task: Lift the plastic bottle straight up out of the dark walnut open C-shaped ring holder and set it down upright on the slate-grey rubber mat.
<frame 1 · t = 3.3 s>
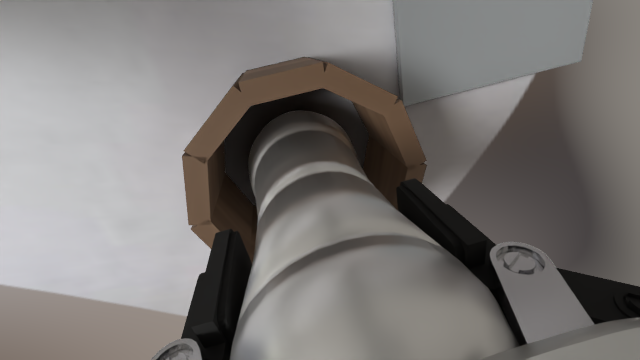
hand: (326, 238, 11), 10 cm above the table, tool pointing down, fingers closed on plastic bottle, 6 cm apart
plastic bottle: (298, 152, 20), resting in ring holder, touching gripper
ring holder: (298, 153, 19), on the table
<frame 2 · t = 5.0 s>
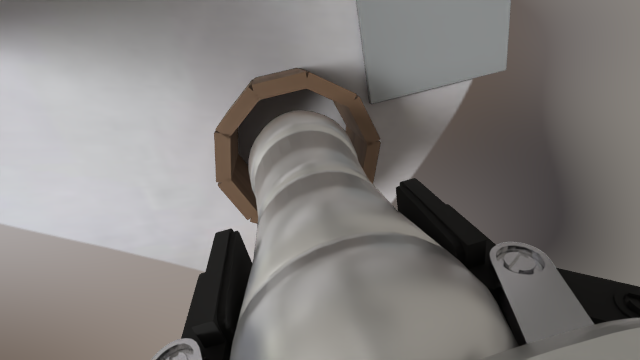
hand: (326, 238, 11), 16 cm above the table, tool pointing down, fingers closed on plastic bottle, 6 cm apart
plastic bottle: (298, 152, 20), point 6 cm above the table, touching gripper
ring holder: (293, 139, 26), on the table
rubber mat: (434, 5, 23), on the table
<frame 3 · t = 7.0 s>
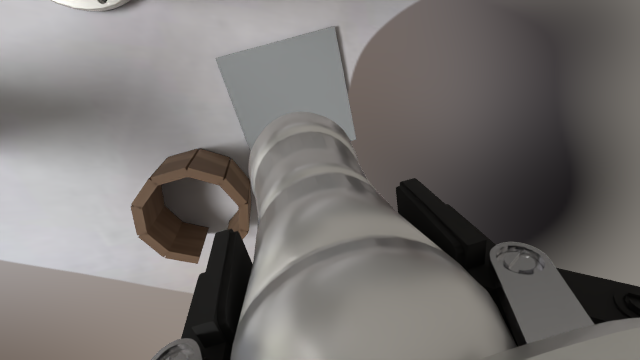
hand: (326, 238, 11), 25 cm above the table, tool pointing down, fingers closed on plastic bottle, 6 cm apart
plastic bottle: (298, 153, 20), point 16 cm above the table, touching gripper
ring holder: (203, 194, 36), on the table
rubber mat: (292, 102, 33), on the table
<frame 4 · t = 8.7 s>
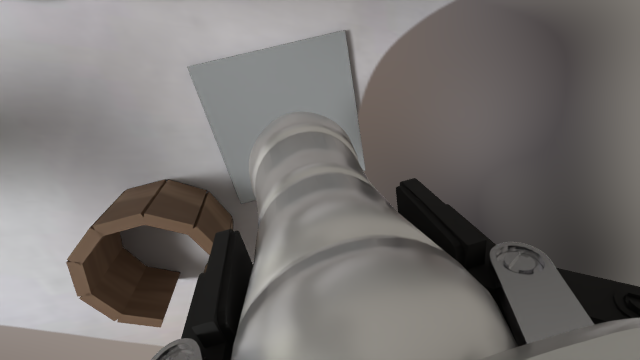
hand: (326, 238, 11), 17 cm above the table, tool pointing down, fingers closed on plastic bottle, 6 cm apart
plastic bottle: (298, 153, 20), point 8 cm above the table, touching gripper
ring holder: (173, 233, 29), on the table
rubber mat: (287, 124, 26), on the table
when the fingers open (11 cm above the table, at t = 10.3 s): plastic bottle drops 1 cm, resting on rubber mat.
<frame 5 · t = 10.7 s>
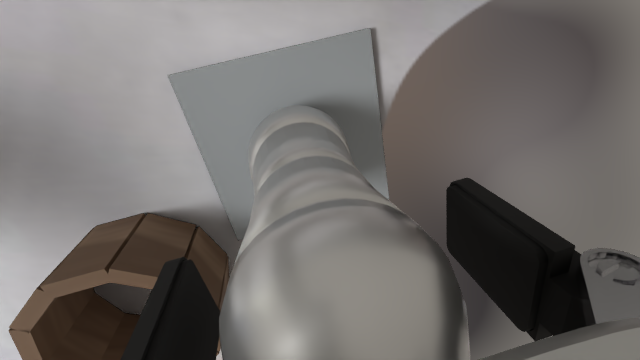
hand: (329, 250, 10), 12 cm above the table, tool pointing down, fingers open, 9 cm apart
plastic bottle: (295, 145, 21), resting on rubber mat
ring holder: (156, 275, 24), on the table
rubber mat: (295, 144, 21), on the table
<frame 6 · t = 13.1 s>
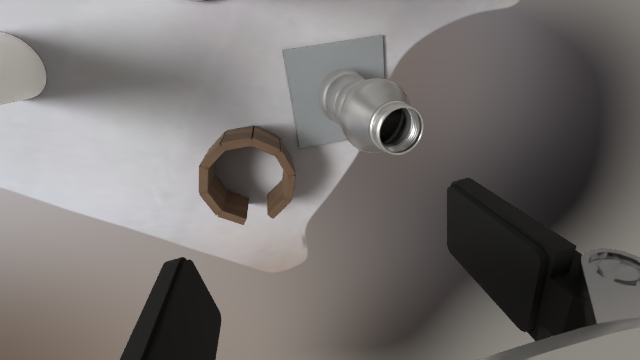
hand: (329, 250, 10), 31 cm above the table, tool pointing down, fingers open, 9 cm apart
cylindrical container: (9, 67, 32), on the table
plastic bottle: (338, 94, 39), resting on rubber mat
ring holder: (250, 166, 41), on the table
rubber mat: (338, 94, 39), on the table
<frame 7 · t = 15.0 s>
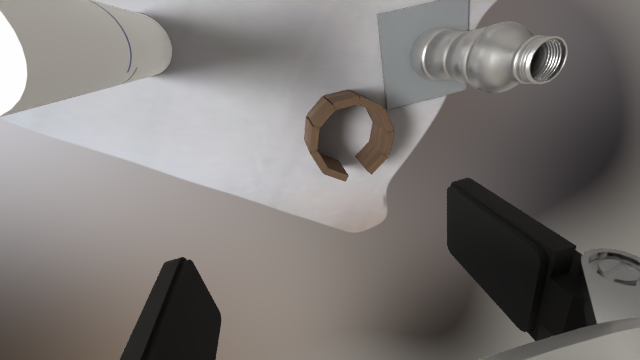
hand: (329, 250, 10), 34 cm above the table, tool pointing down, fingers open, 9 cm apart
cylindrical container: (141, 45, 35), on the table
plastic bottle: (425, 54, 42), resting on rubber mat
ring holder: (341, 130, 45), on the table
rubber mat: (424, 54, 42), on the table
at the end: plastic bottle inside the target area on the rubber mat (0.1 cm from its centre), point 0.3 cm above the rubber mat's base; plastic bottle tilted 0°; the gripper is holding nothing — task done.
